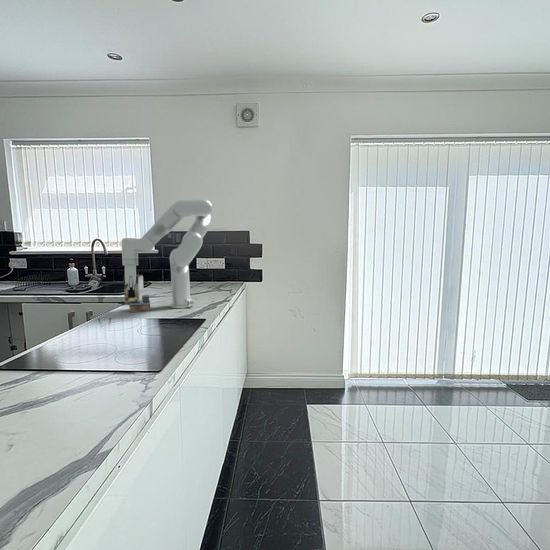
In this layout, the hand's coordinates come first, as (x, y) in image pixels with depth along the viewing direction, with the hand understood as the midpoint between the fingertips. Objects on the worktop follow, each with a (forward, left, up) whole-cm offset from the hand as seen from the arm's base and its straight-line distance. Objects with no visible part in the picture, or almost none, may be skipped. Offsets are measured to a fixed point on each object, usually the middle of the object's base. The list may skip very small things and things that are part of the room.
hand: (131, 297), depth 180 cm
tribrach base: (-3, -2, -7) cm, 8 cm away
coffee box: (+13, -16, -7) cm, 22 cm away
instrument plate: (-3, -2, -4) cm, 5 cm away
